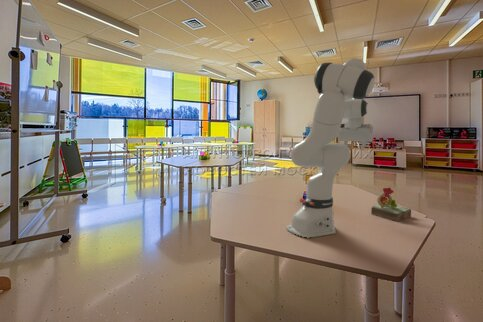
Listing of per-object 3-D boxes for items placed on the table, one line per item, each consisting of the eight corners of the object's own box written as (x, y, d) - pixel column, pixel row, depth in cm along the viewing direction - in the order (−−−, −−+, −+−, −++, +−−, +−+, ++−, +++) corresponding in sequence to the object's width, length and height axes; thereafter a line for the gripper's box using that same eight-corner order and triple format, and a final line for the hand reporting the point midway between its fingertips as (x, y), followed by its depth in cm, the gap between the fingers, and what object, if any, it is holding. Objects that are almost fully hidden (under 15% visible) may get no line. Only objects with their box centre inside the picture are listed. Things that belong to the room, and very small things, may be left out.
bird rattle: (385, 213, 128) (402, 206, 128) (377, 194, 127) (394, 186, 127) (378, 209, 134) (394, 203, 134) (371, 191, 133) (387, 184, 133)
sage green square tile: (396, 221, 122) (396, 213, 122) (371, 214, 133) (371, 206, 133) (410, 216, 128) (411, 209, 128) (385, 210, 140) (386, 203, 139)
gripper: (376, 124, 132) (375, 150, 133) (343, 125, 149) (343, 148, 151) (369, 123, 128) (367, 150, 130) (336, 125, 146) (335, 148, 148)
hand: (354, 149), depth 141 cm, fingers open, 8 cm apart
